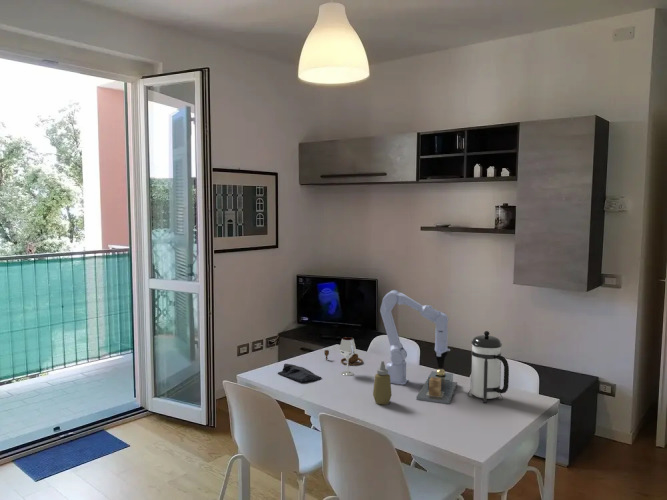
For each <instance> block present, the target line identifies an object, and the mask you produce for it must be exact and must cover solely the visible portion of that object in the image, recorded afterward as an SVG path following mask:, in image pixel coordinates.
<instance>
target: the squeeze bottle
mask: <svg viewBox="0 0 667 500" xmlns="http://www.w3.org/2000/svg"><path fill="white" fill-rule="evenodd" d="M391 385H392V383H391V382H390V375H389V374H388V370H387V369H386V365H385V360H382V361H381V362H380V366H379V368H377V369H376V374H375V375H374V382H373V390H372V397H373V399H374V402H375V404H377V405H381V406H382V405H383V406H384V405H389V403H390V401H391V398H392V396H393V395H392V394H393V393H392V386H391Z"/></svg>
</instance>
